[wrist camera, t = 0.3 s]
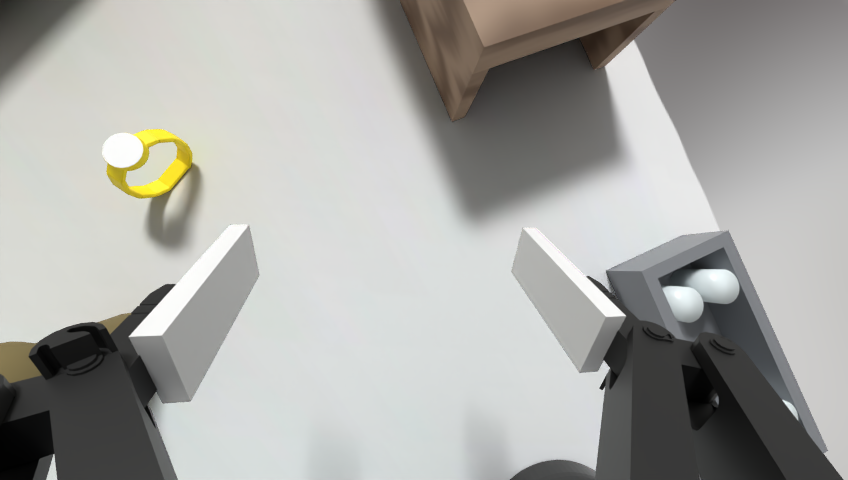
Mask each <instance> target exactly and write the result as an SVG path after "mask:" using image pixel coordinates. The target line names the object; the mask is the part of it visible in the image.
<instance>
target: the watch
mask: <svg viewBox="0 0 848 480" xmlns="http://www.w3.org/2000/svg"><path fill="white" fill-rule="evenodd" d="M164 142H174V143H175V144H176V146H177V158H176V159H175V160H174V162H173V163H172V164H171V165H170V166H169V167H168V169H167V170H166V171H165V172H164V173H163V174H162V176H161V177H160V178H159V179H158V180H156V181H154V182H152V183H149V184H147V185H145V186H133V187H129V186H128V185H127V183H126V181H125V179H126V174H127V171H132V170H136V169H138V168H140V167H141V166H143V165H144V164H145V163H146V161H147V160H148V157H149V147H151V146H153V145H155V144H157V143H164ZM102 155H103V158H104V160H105V161H106V162H107V163H108V165H107V171H106V172H107V175H108V177H109V179H110V180H111V182H112V183H113V185H115V186H116V187H118V188H119V189H121V190H122V191H123V192H125V193H126V194H128V195H131V196H134V197H136V198H141V199H142V198H151V197H156V196H160V195H162V194H164V193H166V192H168V191H170V190H171V189H172V188H173V187H174V185H175V184H176V183H177V182H178V181H179V180H180V178H181V177H182V176H183V175H184V174H185V172H186V171H187V170H188V169H189V168H191V167H190V166H191V164H192V152H191V150H190V148H189V146H188V144H186V143H185V142H184V141H183V140H181V139H180V138H178V137H177V136H175V135H174V134H172V133H170V132H167V131H165V130H162V129H153V130H145V131H144V130H143V131H141V132H138V133H136V134H134V135H133V134H129V133H118V134H115V135H112V136H111V137H110V138H108V139H107V140H106V142H105V143H104V145H103V148H102Z"/></svg>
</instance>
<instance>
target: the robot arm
mask: <svg viewBox="0 0 848 480" xmlns="http://www.w3.org/2000/svg"><path fill="white" fill-rule="evenodd" d="M511 272H512V274H513V275H514V277H515V278H516V280H517V281H518V283H519V284H520V286H521V287H522V289H523V290H524V291H525V293H526V294H527V296H528V297H529V299H530V300H531V302H532V303H533V305H534V306H535V308H536V309H537V311H538V312H539V314H540V315H541V317H542V318H543V320H544V321H545V323H546V324H547V325H548V327H549V328H550V330H551V331H552V333H553V334H554V336H555V337H556V339H557V340H558V342H559V343H560V345H561V346H562V348H563V349H564V351H565V352H566V354H567V355H568V357H569V358H570V360H571V361H572V362H573V364H574V365H575V367H576V368H577V370H578V371H579V373H583V372H596V371H598V370H599V368H600V366H601V364H602V362H603V360H604V361H605V362H606V363H607V364H608V366H609V367H610V369H609V371H608V373H607V375H606V377H605V379H604V381H603V382H602V384H601V386H600V388H599V389H601V390H603V388H604V387H605V394H604V403H603V412H602V421H601V430H600V439H599V448H598V457H597V466H596V471H594V470H592V469H591V468H589V467H587V466H585V465H582V464H580V463H576V462H572V461H566V460H551V461H545V462H541V463H537V464H535V465H532V466H530V467H528V468H526V469H524V470H522V471H521V472H519V473H518V474H516V475H515V476H514V477H513V478H511V479H510V480H699V475H700V477H701V480H843V479H842V477H841V476H840V475H839V474H838V472H837V471H836V470H835V468H834V467H833V466H832V464H831V463H830V462H829V461H828V459H827V458H826V457H825V455H824V454H823V453H822V451H821V450H820V449H819V447H818V446H817V445H816V443H815V442H814V441H813V440H812V438H811V437H810V436H809V434H808V433H807V432H806V430H805V429H804V428H803V427H802V425H801V424H800V423H799V421H798V420H797V419H796V417H795V416H794V415H793V414H792V412H791V411H790V410H789V408H788V407H787V406H786V404H785V403H784V402H783V401H782V399H781V398H780V397H779V395H778V394H777V393H776V391H775V390H774V389H773V387H772V386H771V385H770V384H769V382H768V381H767V380H766V378H765V377H764V376H763V374H762V373H761V372H760V371H759V369H758V368H757V367H756V365H755V364H754V363H753V361H752V360H751V359H750V358H749V356H748V355H747V354H746V352H745V351H744V350H743V349H742V348H741V347H740V346H738V345H737V344H735V343H734V342H733V341H731V340H730V339H728V338H726V337H723V336H721V335H717V334H714V333H709V332H703V333H700V334H699V335H698V337H697V338H696V340H695V341H694V342H692V341H687V340H681V339H676V338H675V336H674V335H673V334H672V333H671V332H670V331H668V330H667V329H665V328H664V327H662V326H660V325H658V324H656V323H653V322H649V321H641V320H639V319H638V318H637V317H636V316H635V315H634V314H632V313H631V312H630V311H629V310H628V309H627V308H626V307H625V306H624V305H623V304H622V303H621V302H620V301H619V300H618V299H615V296H614V295H612V294H611V293H609V291H608V290H607V289H606V288H605V287H604V286H603V285H602V284H601V283H599V282H598V281H596V280H594V279H593V278H591V277H589V276H585V275H584V274H583V273H582V272H581V271H580V270H579V269H578V268H577V267H576V266H575V265H574V264H573V263H572V262H571V261H570V260H569V259H568V258H567V257H566V256H565V255H564V254H563V253H561V252H560V251H559V250H558V249H557V248H556V247H555V246H554V245H553V244H552V243H551V242H550V241H549V240H548V239H547V238H546V237H545V236H544V235H543V234H542V233H541V232H540V231H539V230H538V229H537V228H522V232H521V236H520V240H519V244H518V248H517V251H516V255H515V259H514V263H513V267H512V271H511ZM258 277H259V270H258V266H257V261H256V256H255V251H254V246H253V241H252V236H251V232H250V227H249V225H233V224H230V226H229V227H228V228H227V229H226V230H225V231H224V232H223V233H222V234H221V235H220V237H219V238H218V239H217V240H216V241H215V242H214V243H213V244H212V245H211V246H210V248H209V249H208V250H207V251H206V252H205V253H204V254H203V255H202V256H201V258H200V259H199V260H198V261H197V262H196V263H195V264H194V265H193V266H192V267H191V269H190V270H189V271H188V272H187V273H186V274H185V275H184V276H183V277H182V278H181V280H180V281H179V282H178V283H177V284H165V285H164V286H162V287H160V288H159V289H157V290H155V291H154V292H152V293H150V294H149V295H148V296H147V297H146V298H145V299H144V300H143V301H142V302H141V303H140V306H137V308H136V309H135V310H134V311H133V312H132V313H131V315H129V316H128V317H127V318H126V319H125V320H124V321H123V322H122V323H121V324H120V325H119V326H118V327H117V328H116V329H115V330H114V331H113V332H112V333H111V334H109V332H108V330H107V328H106V327H105V326H104V325H103V324H101V323H95V322H89V323H80V324H76V325H73V326H69V327H66V328H63V329H61V330H59V331H56V332H54V333H52V334H50V335H49V336H47V337H45V338H44V339H42V340H40V341H39V342H38V343H37V344H36V345H35V346H34V347H33V348H32V349H31V351H30V353H29V356H28V357H29V358H30V360H31V361H32V362H33V364H34V365H35V366H36V368H37V369H38V370H39V372H40V373H41V374H42V375H41V376H37V377H33V378H29V379H25V380H21V381H17V382H13V383H9V382H8V381H7V379H6V378H5V377H4V376H3V375H1V374H0V480H46V478H47V475H48V471H49V468H50V464H51V461H52V458H53V454H55V463H56V471H57V480H178V479H177V476H176V474H175V471H174V469H173V466H172V463H171V461H170V458H169V456H168V453H167V450H166V448H165V445H164V443H163V440H162V437H161V435H160V432H159V430H158V427H157V424H156V422H155V419H154V417H153V414H152V411H151V409H150V407H149V405H148V402H149V401H150V399H151V398H152V396H153V395H154V393H155V392H157V394H158V396H159V398H160V400H161V402H162V403H176V402H189V401H191V400H192V398H193V396H194V394H195V393H196V391H197V389H198V387H199V385H200V383H201V382H202V380H203V378H204V376H205V374H206V372H207V371H208V369H209V367H210V365H211V363H212V361H213V360H214V358H215V356H216V354H217V352H218V350H219V349H220V347H221V345H222V343H223V341H224V339H225V338H226V336H227V334H228V332H229V330H230V328H231V327H232V325H233V323H234V321H235V319H236V317H237V316H238V314H239V312H240V310H241V308H242V306H243V305H244V303H245V301H246V299H247V297H248V295H249V294H250V292H251V290H252V288H253V286H254V284H255V283H256V281H257V279H258ZM717 396H718V399H719V404H717V402H716V400H715V399H716V397H717ZM698 472H699V473H698Z"/></svg>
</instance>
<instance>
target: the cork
mask: <svg viewBox="0 0 848 480" xmlns="http://www.w3.org/2000/svg"><path fill="white" fill-rule="evenodd" d="M129 315H131V313H127V314H121V315H118V316H115V317H112V318H109V319H106V320H103V321H100V322H97V323H101V324H103V325H104V326H105V327H106V328H107V330H108V332H109V334H111V333H112V332H113V331H114V330H115V329H116V328H117V327H118V326H119V325H120V324H121V323H122V322H123V321H124V320H125V319H126V318H127V317H128V316H129ZM36 344H37V343H27V342H6V343H0V374H1V375H3V376H4V377H5V378H6V379H7V381H8V382H9V383H13V382H17V381H21V380H25V379H29V378H33V377H37V376H41V375H42V374H41V373H40V372H39V370H38V369H37V368H36V366H35V365H34V364H33V362H32V361H31V360H30V358H29V357H28V356H29V353H30V351H31V349H32V348H33V347H34V346H35V345H36Z"/></svg>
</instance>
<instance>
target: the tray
mask: <svg viewBox="0 0 848 480" xmlns="http://www.w3.org/2000/svg"><path fill="white" fill-rule="evenodd" d="M606 272H607V274H608V277H609V279H610V281H611V284H612V286H613V288H614V291H615V293H616V295H617V297H618V300H619V301H620V302H621V303H622V304H623V305H624V306H625V307H626V308H627V309H628V310H629V311H630V312H631V313H632V314H634V315H635V316H636V317H637V318H638V319H639V320H641V321H649V322H653V323H656V324H658V325H660V326H662V327H664V328H665V329H667V330H668V331H670V332H671V333H672V334H673V335H674V336H675V338H676V339H681V340H687V341H692V342H694V341H695V340H696V338H697V337H698V335H699V334H700V333H703V332H709V333H714V334H717V335H721V336H723V337H726V338H728V339H730V340H731V341H733V342H734V343H735V344H737V345H738V346H740V347H741V348H742V349H743V350H744V351H745V352H746V354H747V355H748V356H749V358H750V359H751V360H752V361H753V363H754V364H755V365H756V367H757V368H758V369H759V371H760V372H761V373H762V374H763V376H764V377H765V378H766V380H767V381H768V382H769V384H770V385H771V386H772V387H773V389H774V390H775V391H776V393H777V394H778V395H779V397H780V398H781V399H782V401H783V402H784V403H785V404H786V406H787V407H788V408H789V410H790V411H791V412H792V414H793V415H794V416H795V417H796V419H797V420H798V421H799V423H800V424H801V425H802V427H803V428H804V429H805V430H806V432H807V433H808V434H809V436H810V437H811V438H812V440H813V441H814V442H815V443H816V445H817V446H818V447H819V449H820V450H821V451H822V453H825V452H826V451H828V450H827V448H826V445H825V443H824V441H823V439H822V437H821V434H820V432H819V430H818V428H817V426H816V423H815V421H814V419H813V417H812V415H811V412H810V410H809V408H808V406H807V403H806V401H805V399H804V397H803V394H802V392H801V391H800V388H799V386H798V383H797V381H796V379H795V377H794V375H793V372H792V370H791V368H790V366H789V363H788V361H787V359H786V357H785V355H784V353H783V350H782V348H781V346H780V344H779V341H778V340H777V337H776V335H775V332H774V330H773V328H772V326H771V324H770V322H769V319H768V317H767V315H766V313H765V310H764V308H763V306H762V304H761V302H760V299H759V297H758V295H757V293H756V290H755V289H754V286H753V284H752V282H751V280H750V277H749V275H748V273H747V271H746V268H745V266H744V264H743V262H742V259H741V257H740V255H739V253H738V251H737V248H736V246H735V244H734V242H733V239H732V237H731V235H730V233H729V231H719V232H709V233H700V234H690V235H682V236H680V237H678V238H675V239H673V240H671V241H669V242H667V243H665V244H662V245H660V246H658V247H656V248H654V249H652V250H649V251H647V252H645V253H643V254H641V255H639V256H636V257H634V258H632V259H630V260H628V261H626V262H623V263H621V264H619V265H617V266H615V267H613V268H610V269H608V270H606ZM715 400H716V402H717V404H719V399H718V396H717V397H716V399H715ZM698 473H699V472H698Z"/></svg>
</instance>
